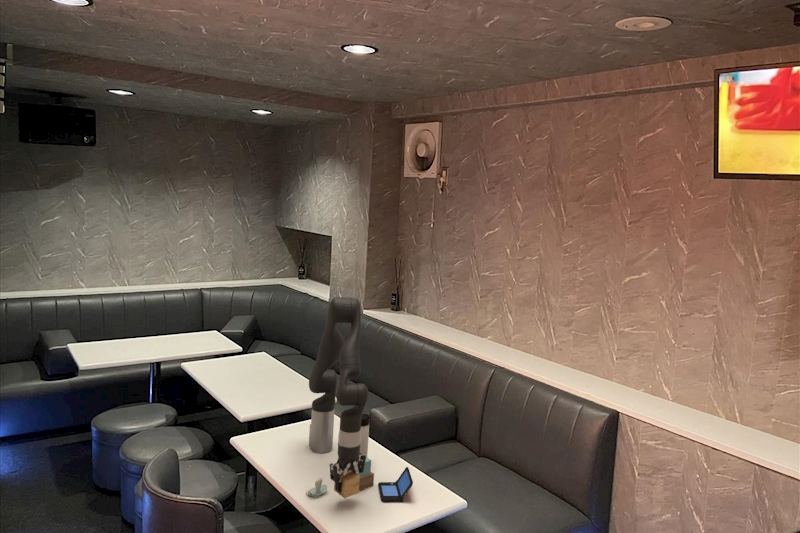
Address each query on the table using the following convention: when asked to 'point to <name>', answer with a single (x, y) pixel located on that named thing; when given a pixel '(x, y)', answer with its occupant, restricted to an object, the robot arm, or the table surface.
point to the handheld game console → (396, 488)
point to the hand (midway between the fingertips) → (346, 488)
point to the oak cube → (349, 484)
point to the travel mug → (364, 434)
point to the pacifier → (317, 489)
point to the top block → (365, 468)
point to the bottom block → (366, 481)
